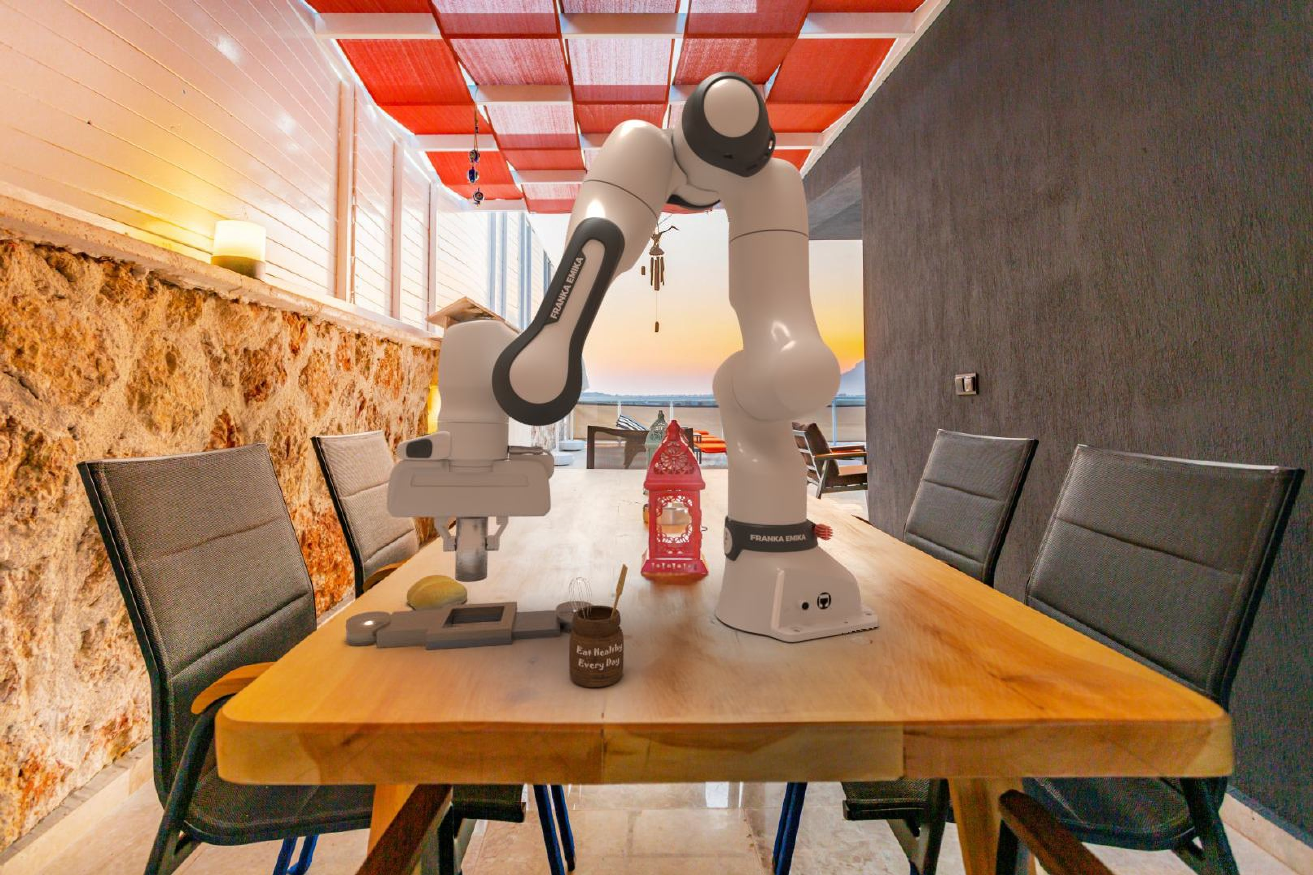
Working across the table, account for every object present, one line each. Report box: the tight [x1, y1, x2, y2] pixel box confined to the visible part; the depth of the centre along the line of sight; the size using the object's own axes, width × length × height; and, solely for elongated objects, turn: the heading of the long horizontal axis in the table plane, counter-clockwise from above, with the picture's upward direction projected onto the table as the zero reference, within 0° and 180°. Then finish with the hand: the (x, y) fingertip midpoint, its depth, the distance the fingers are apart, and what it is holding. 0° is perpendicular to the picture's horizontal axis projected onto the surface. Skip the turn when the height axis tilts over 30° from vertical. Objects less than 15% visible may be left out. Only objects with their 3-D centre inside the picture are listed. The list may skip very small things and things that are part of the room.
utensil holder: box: [568, 563, 628, 688], centre depth 59 cm, size 6×6×12 cm
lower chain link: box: [425, 600, 594, 651], centre depth 72 cm, size 20×10×2 cm, turn 100°
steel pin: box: [454, 517, 489, 583], centre depth 71 cm, size 4×4×8 cm
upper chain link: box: [345, 601, 518, 649], centre depth 70 cm, size 20×10×2 cm, turn 100°
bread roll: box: [406, 574, 468, 611], centre depth 83 cm, size 8×9×4 cm
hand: (471, 550), depth 71 cm, fingers closed on steel pin, 4 cm apart
